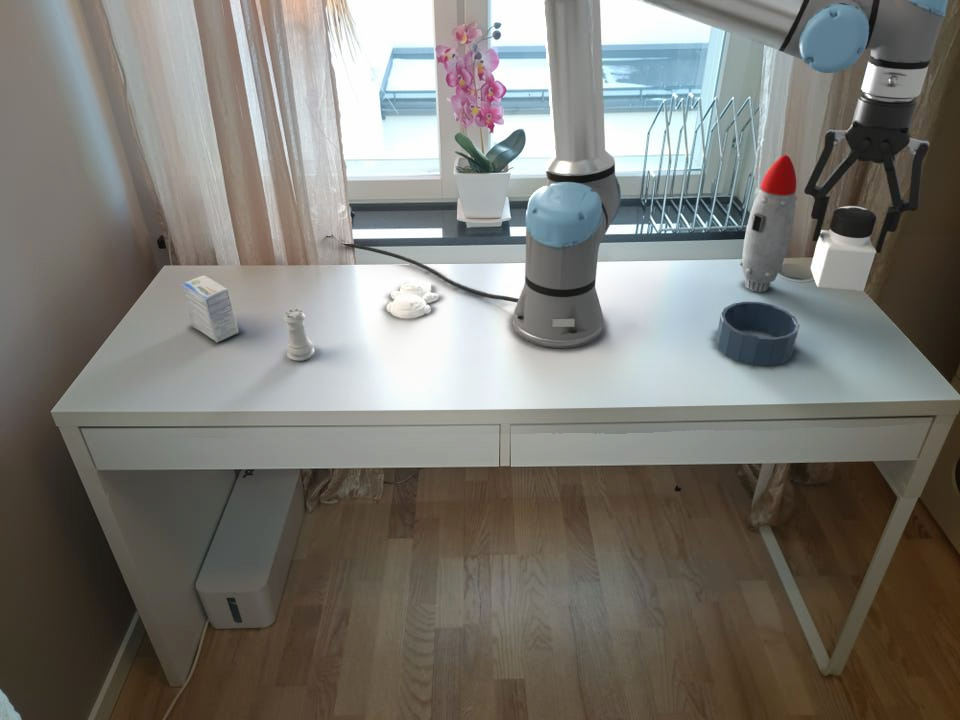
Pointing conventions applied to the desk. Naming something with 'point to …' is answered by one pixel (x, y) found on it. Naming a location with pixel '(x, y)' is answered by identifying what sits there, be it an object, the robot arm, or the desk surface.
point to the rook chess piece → (298, 337)
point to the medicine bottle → (845, 250)
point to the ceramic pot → (755, 347)
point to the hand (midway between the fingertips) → (846, 243)
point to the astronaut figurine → (411, 300)
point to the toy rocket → (770, 226)
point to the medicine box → (210, 308)
